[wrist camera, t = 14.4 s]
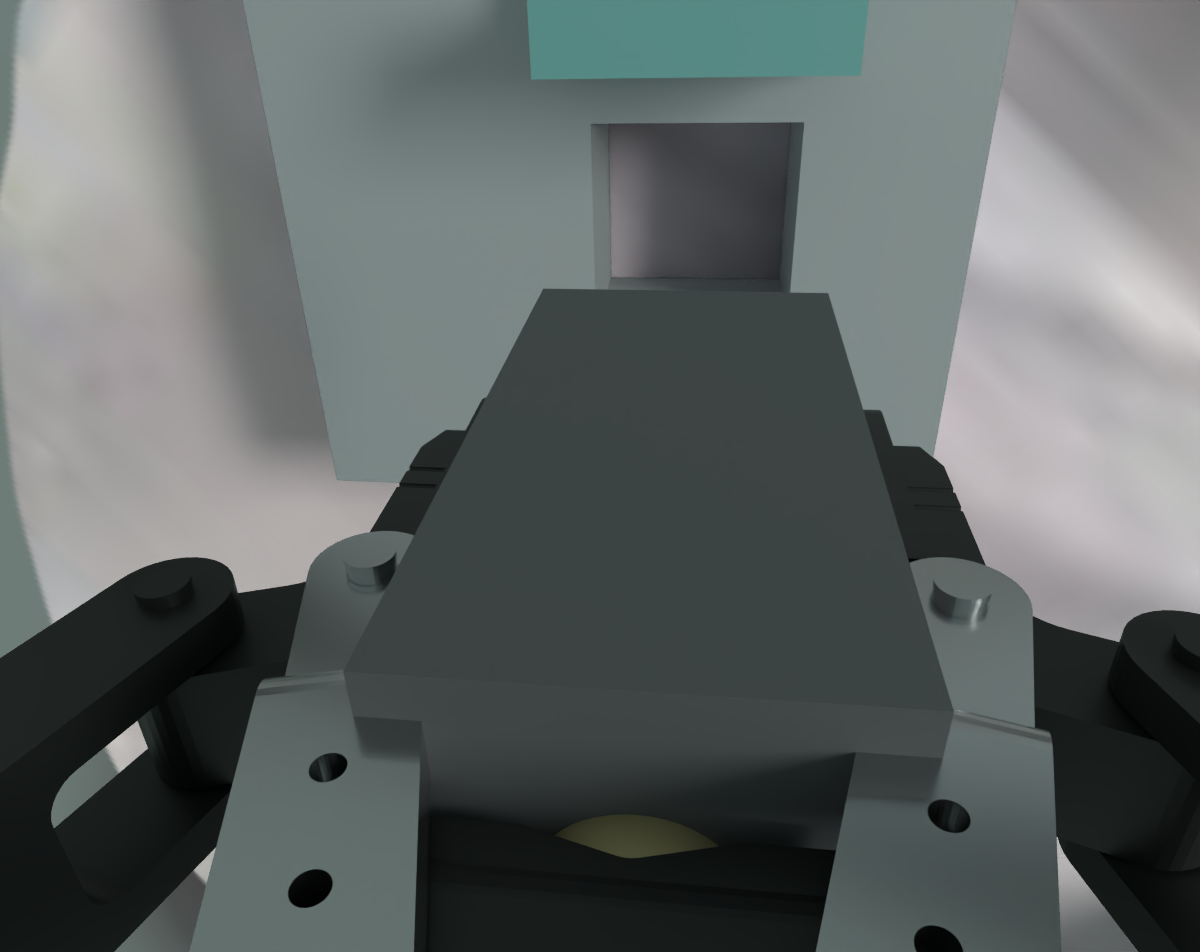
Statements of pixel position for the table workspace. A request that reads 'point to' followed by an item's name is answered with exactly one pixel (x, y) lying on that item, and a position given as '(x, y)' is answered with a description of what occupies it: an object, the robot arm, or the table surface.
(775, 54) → the shutter
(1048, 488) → the table surface
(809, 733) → the plug
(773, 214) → the table surface
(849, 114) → the socket plate
